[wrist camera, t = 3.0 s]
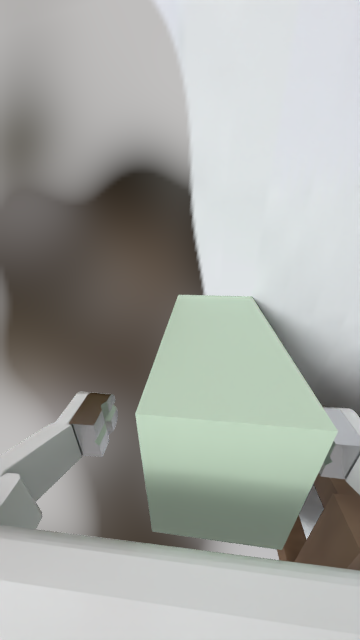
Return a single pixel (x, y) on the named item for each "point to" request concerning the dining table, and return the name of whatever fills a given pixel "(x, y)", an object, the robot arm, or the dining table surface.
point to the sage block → (228, 427)
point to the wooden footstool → (329, 529)
